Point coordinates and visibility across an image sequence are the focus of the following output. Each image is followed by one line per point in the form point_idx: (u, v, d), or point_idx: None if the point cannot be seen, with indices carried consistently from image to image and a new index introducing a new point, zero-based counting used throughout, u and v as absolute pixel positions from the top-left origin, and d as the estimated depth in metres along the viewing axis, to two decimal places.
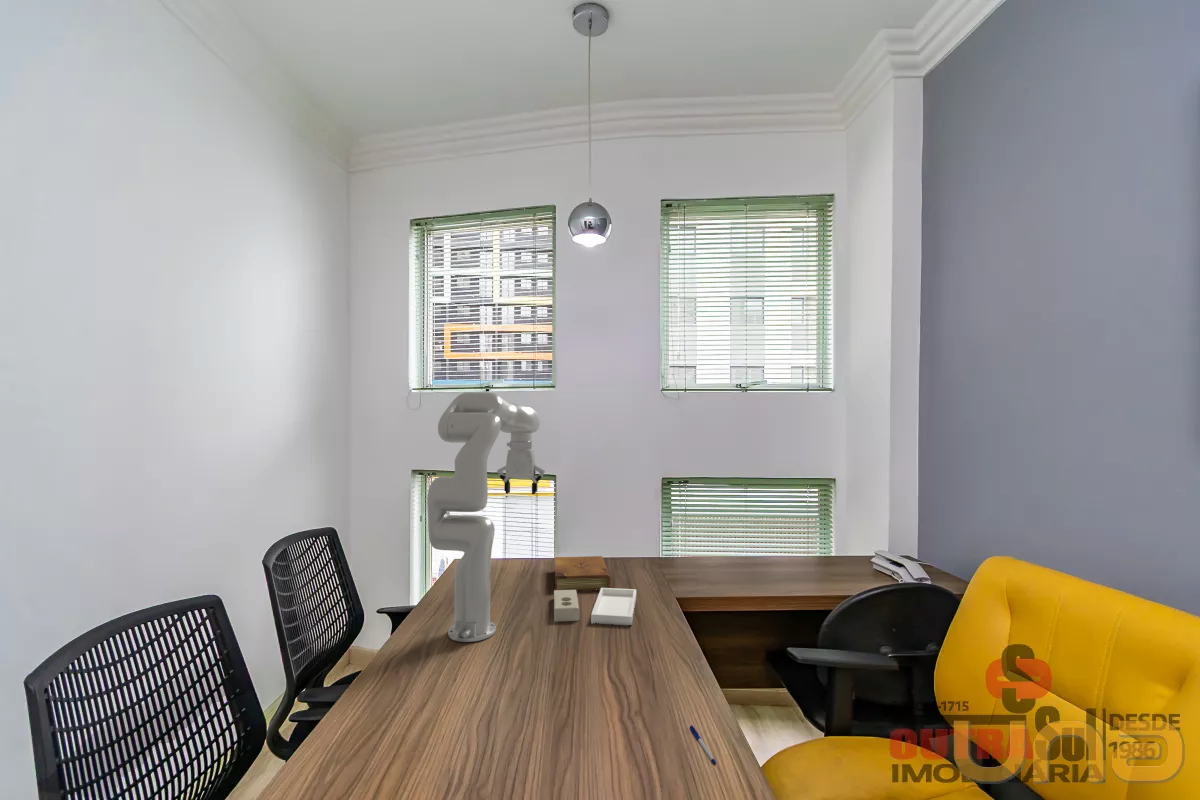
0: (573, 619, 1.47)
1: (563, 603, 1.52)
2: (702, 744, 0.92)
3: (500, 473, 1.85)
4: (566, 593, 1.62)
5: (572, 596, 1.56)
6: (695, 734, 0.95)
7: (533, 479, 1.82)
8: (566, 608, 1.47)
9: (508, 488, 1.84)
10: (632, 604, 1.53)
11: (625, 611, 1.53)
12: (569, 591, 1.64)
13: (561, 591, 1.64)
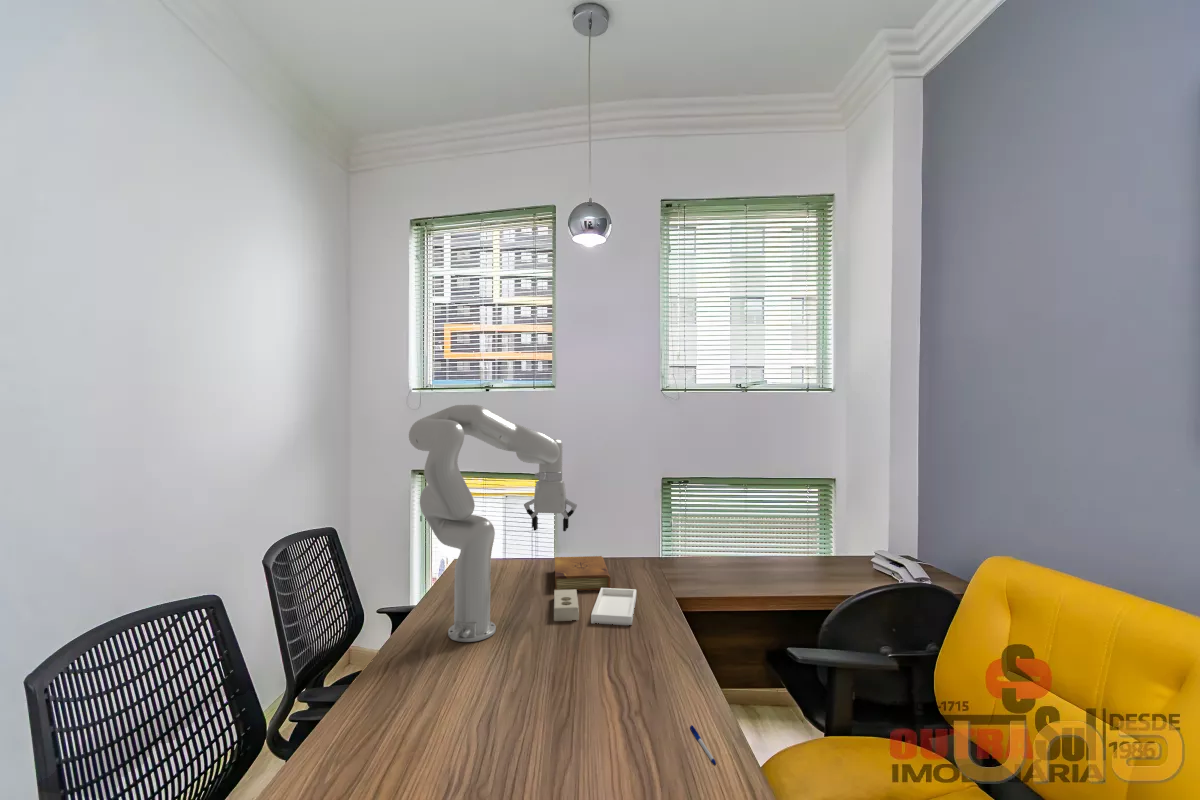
0: (573, 619, 1.48)
1: (563, 603, 1.52)
2: (702, 744, 0.92)
3: (527, 507, 1.66)
4: (566, 593, 1.62)
5: (572, 596, 1.57)
6: (695, 734, 0.95)
7: (564, 514, 1.64)
8: (566, 608, 1.48)
9: (536, 524, 1.65)
10: (632, 604, 1.53)
11: (625, 611, 1.53)
12: (569, 591, 1.64)
13: (562, 590, 1.64)
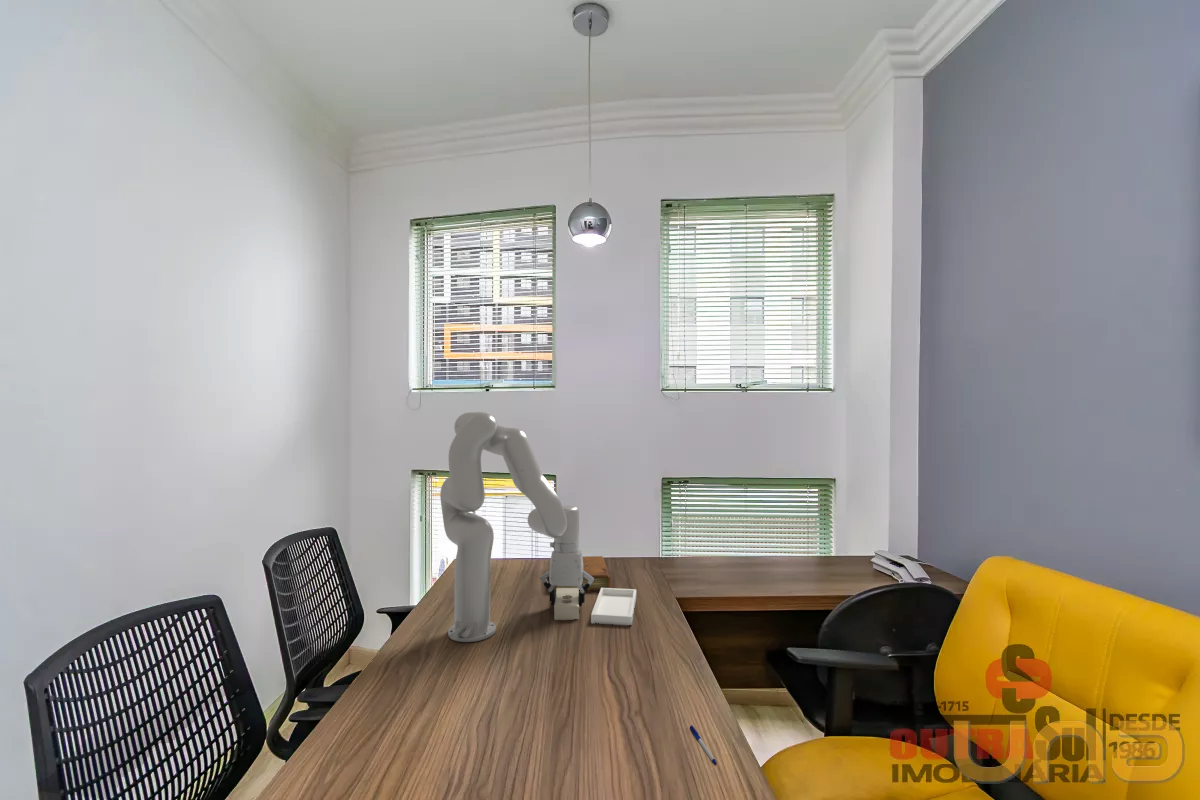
0: (573, 617, 1.48)
1: (564, 601, 1.53)
2: (702, 744, 0.92)
3: (543, 580, 1.57)
4: (568, 591, 1.63)
5: (573, 594, 1.57)
6: (695, 734, 0.95)
7: (580, 588, 1.54)
8: (566, 606, 1.48)
9: (554, 598, 1.56)
10: (632, 604, 1.53)
11: (625, 611, 1.53)
12: (571, 589, 1.65)
13: (564, 588, 1.65)
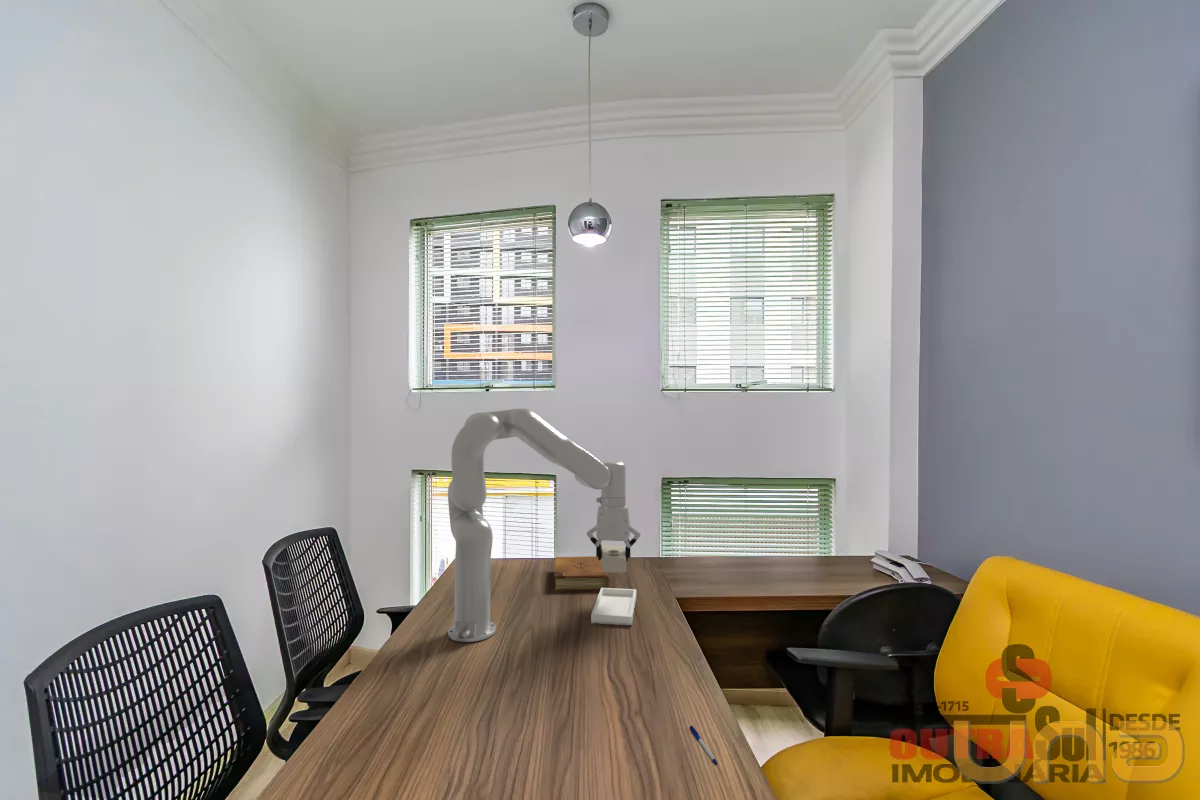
0: (620, 569, 1.48)
1: (611, 555, 1.53)
2: (703, 744, 0.92)
3: (590, 535, 1.57)
4: (613, 548, 1.63)
5: (619, 549, 1.58)
6: (695, 734, 0.95)
7: (627, 543, 1.55)
8: (613, 558, 1.49)
9: (600, 553, 1.57)
10: (632, 604, 1.53)
11: (625, 611, 1.53)
12: (616, 546, 1.65)
13: (609, 546, 1.66)
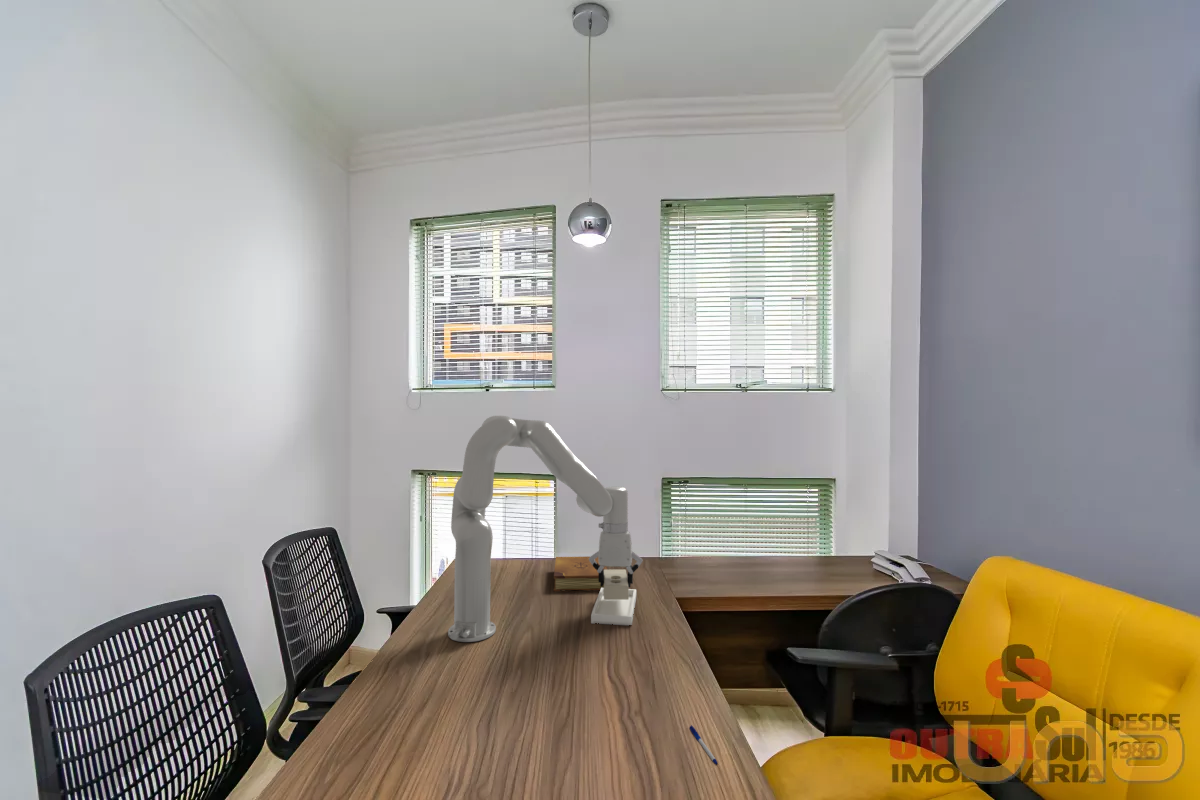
0: (623, 596, 1.48)
1: (613, 581, 1.53)
2: (703, 744, 0.92)
3: (592, 561, 1.57)
4: (616, 572, 1.63)
5: (621, 575, 1.57)
6: (695, 734, 0.95)
7: (629, 569, 1.54)
8: (616, 585, 1.48)
9: (603, 579, 1.56)
10: (632, 604, 1.53)
11: (625, 611, 1.53)
12: (619, 570, 1.65)
13: (611, 570, 1.65)
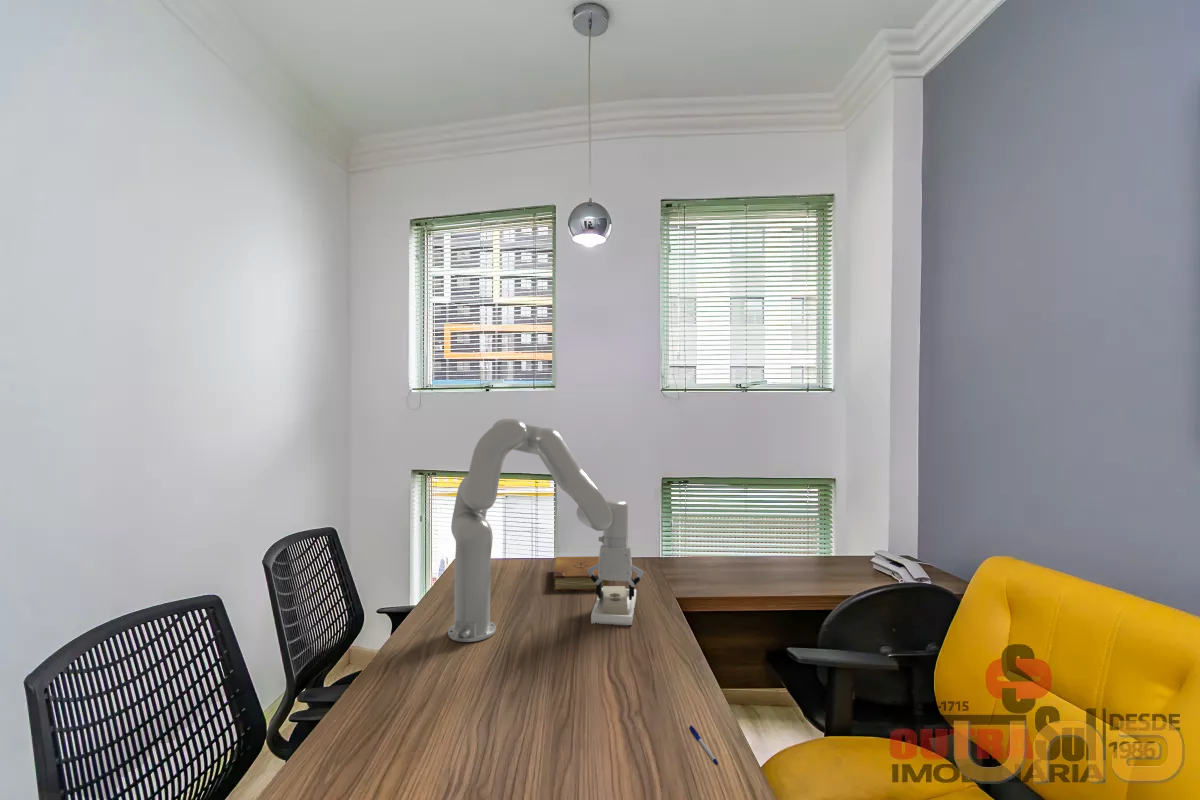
0: None
1: (612, 599, 1.53)
2: (703, 744, 0.92)
3: (590, 573, 1.57)
4: (615, 589, 1.63)
5: (620, 592, 1.57)
6: (695, 734, 0.95)
7: (631, 582, 1.54)
8: (615, 604, 1.48)
9: (600, 591, 1.56)
10: (632, 604, 1.53)
11: None
12: (618, 587, 1.64)
13: (610, 587, 1.65)
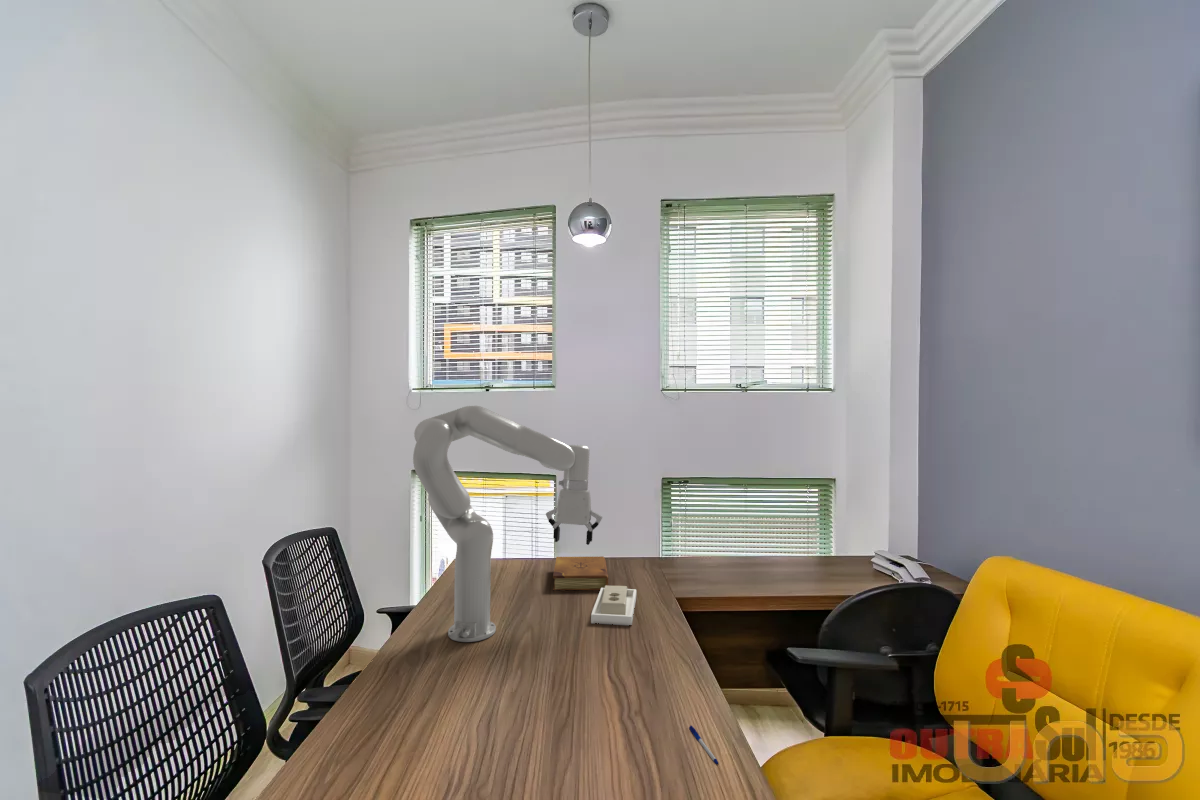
0: (619, 614, 1.48)
1: (611, 598, 1.53)
2: (703, 744, 0.92)
3: (549, 516, 1.55)
4: (616, 589, 1.63)
5: (620, 592, 1.57)
6: (695, 734, 0.95)
7: (589, 526, 1.53)
8: (613, 603, 1.49)
9: (558, 535, 1.55)
10: (632, 604, 1.53)
11: None
12: (620, 587, 1.65)
13: (612, 586, 1.66)
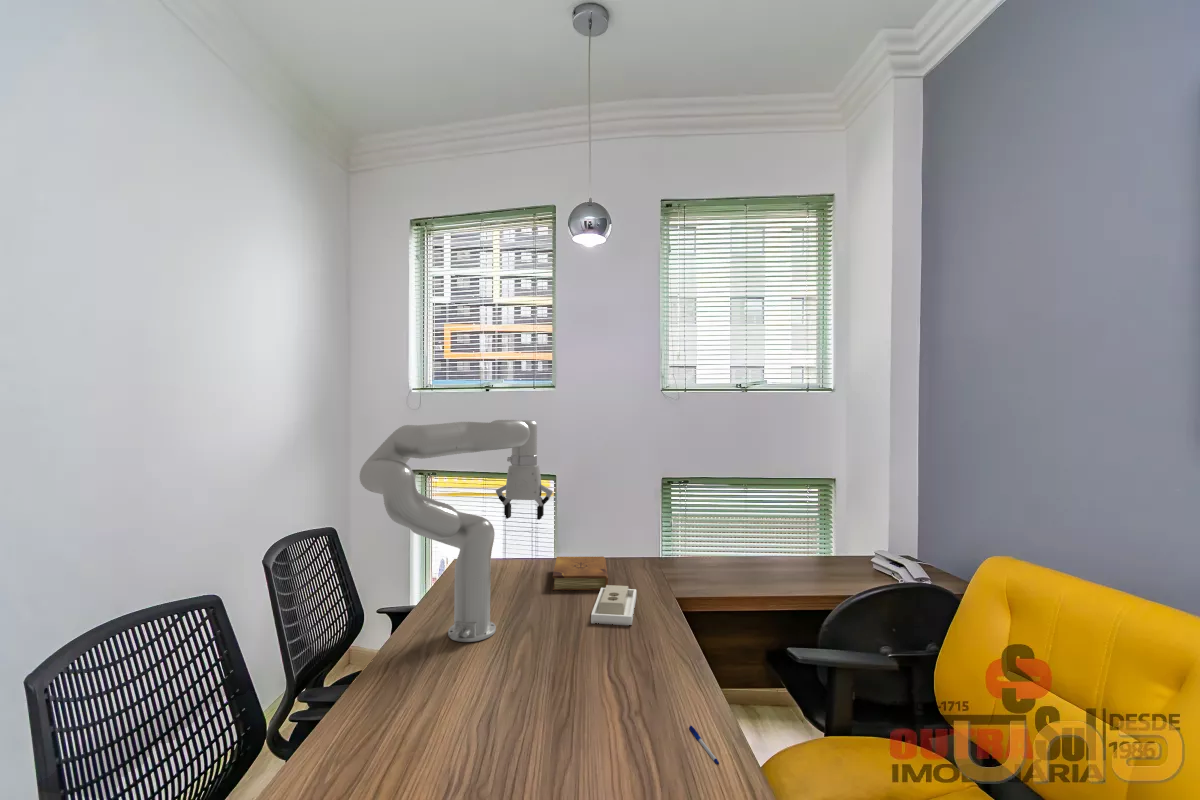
0: (618, 614, 1.48)
1: (610, 598, 1.54)
2: (703, 744, 0.92)
3: (499, 493, 1.54)
4: (617, 589, 1.63)
5: (620, 592, 1.57)
6: (695, 734, 0.95)
7: (539, 501, 1.51)
8: (611, 603, 1.49)
9: (509, 512, 1.54)
10: (632, 604, 1.53)
11: (625, 611, 1.53)
12: (620, 587, 1.65)
13: (613, 586, 1.66)
